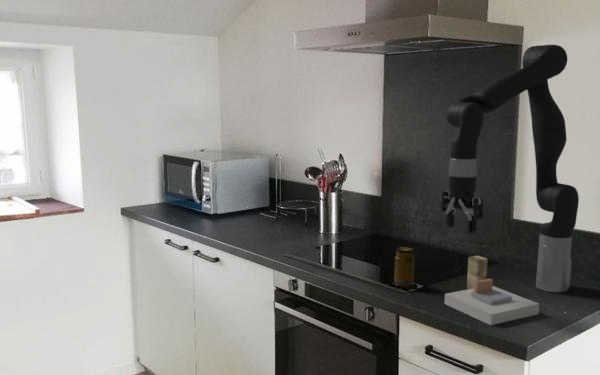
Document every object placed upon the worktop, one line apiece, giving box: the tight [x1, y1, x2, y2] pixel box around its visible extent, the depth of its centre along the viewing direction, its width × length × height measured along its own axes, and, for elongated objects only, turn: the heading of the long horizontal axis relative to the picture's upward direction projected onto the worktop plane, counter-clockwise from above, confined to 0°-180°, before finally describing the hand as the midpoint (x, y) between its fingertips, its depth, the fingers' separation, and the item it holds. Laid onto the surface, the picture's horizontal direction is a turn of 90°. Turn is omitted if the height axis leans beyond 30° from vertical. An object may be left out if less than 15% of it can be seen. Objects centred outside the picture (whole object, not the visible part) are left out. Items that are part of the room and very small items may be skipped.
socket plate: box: [444, 285, 540, 326], centre depth 170 cm, size 18×18×3 cm
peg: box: [466, 255, 488, 290], centre depth 186 cm, size 4×4×10 cm
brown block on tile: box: [471, 278, 512, 304], centre depth 169 cm, size 8×8×4 cm
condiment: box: [393, 246, 424, 292], centre depth 188 cm, size 7×8×12 cm
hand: (460, 230), depth 171 cm, fingers open, 8 cm apart
